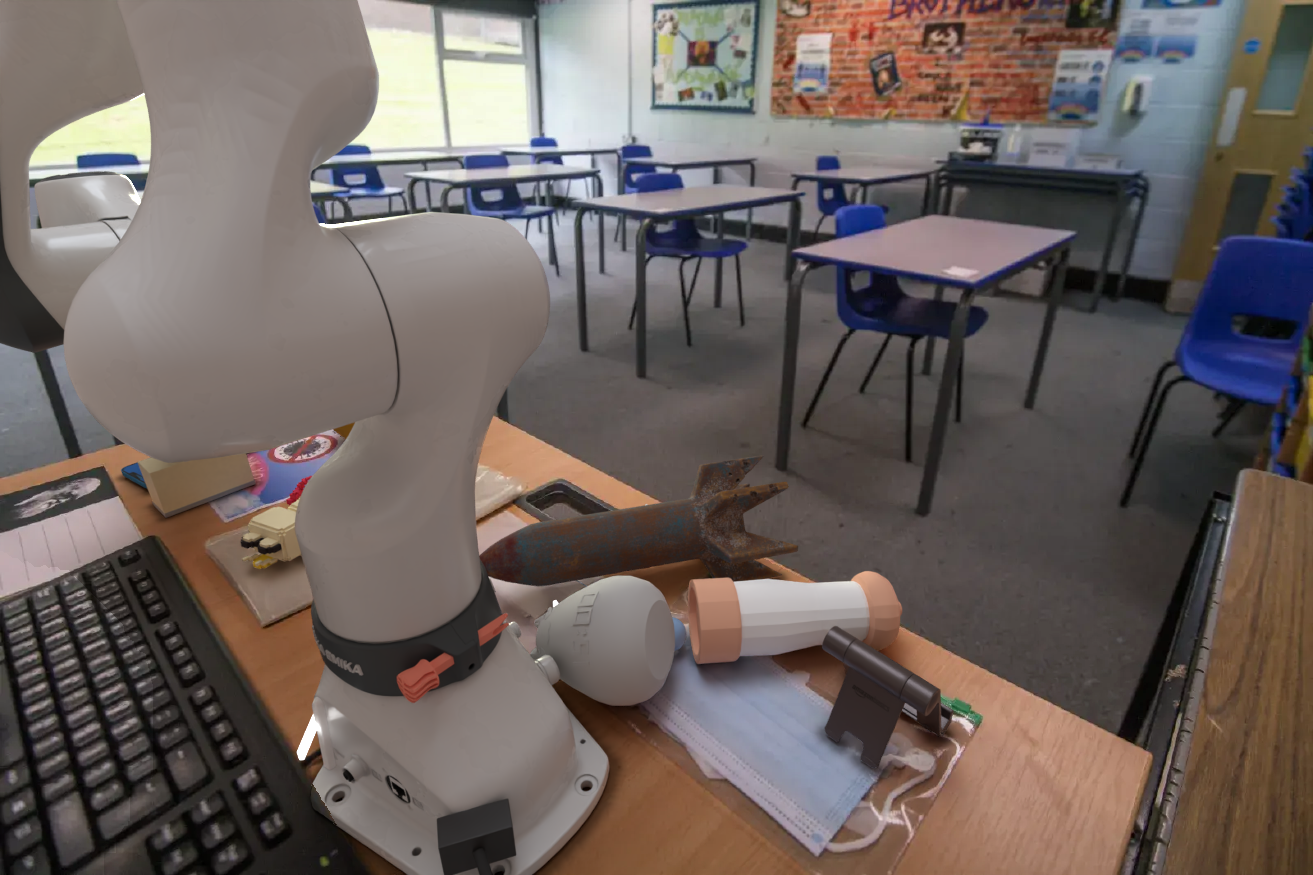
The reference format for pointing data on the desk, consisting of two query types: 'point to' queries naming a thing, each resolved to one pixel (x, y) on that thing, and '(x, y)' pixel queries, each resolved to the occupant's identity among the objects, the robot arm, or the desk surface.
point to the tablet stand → (878, 697)
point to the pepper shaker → (787, 615)
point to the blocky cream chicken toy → (274, 532)
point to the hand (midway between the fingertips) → (173, 445)
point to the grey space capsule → (610, 640)
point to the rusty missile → (648, 536)
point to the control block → (194, 481)
